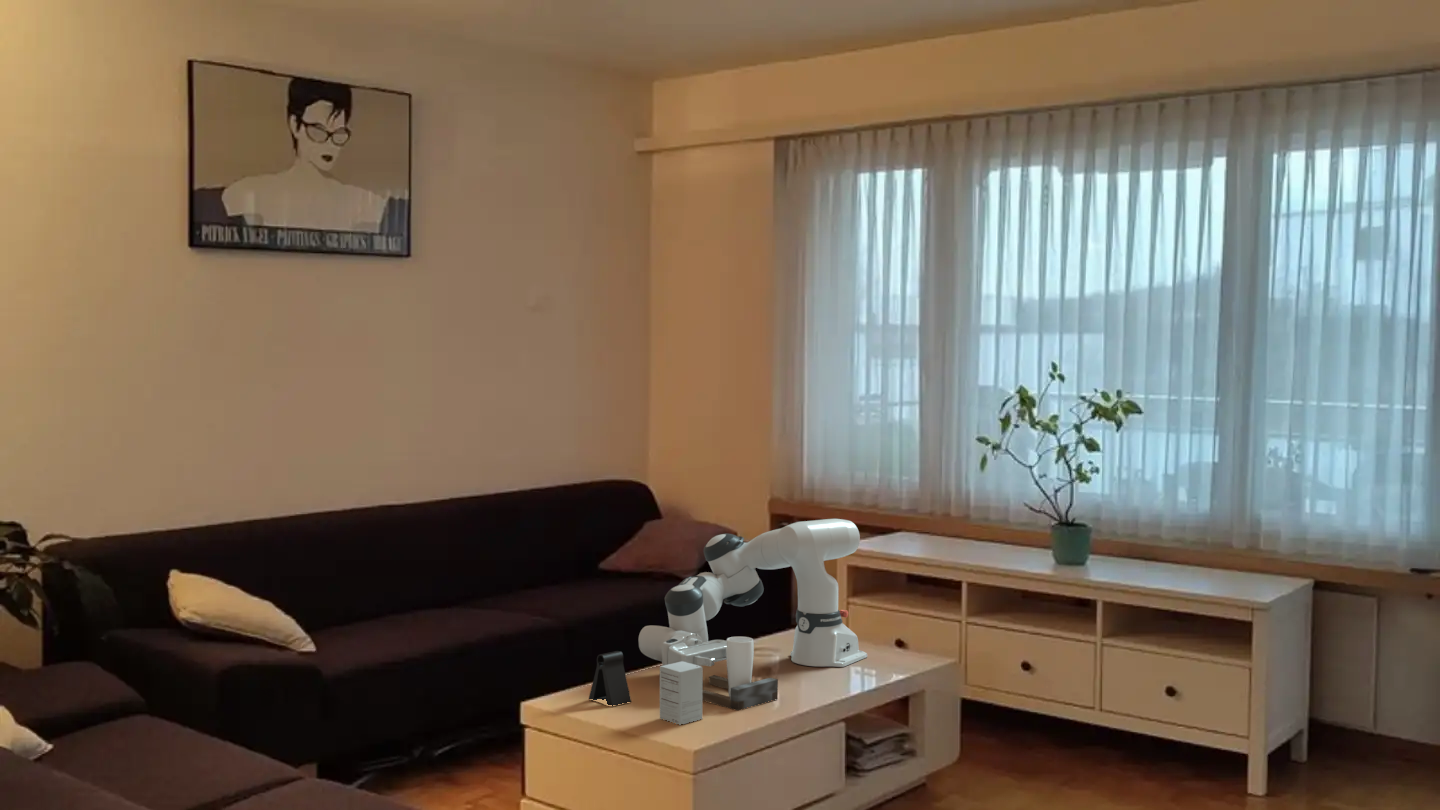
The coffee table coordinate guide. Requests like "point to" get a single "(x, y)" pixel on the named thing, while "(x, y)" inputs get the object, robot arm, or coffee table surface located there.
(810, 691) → the coffee table surface
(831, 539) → the robot arm
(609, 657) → the phone stand
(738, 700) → the guide track
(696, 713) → the supplement box
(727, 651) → the drinking glass
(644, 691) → the coffee table surface
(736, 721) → the coffee table surface
